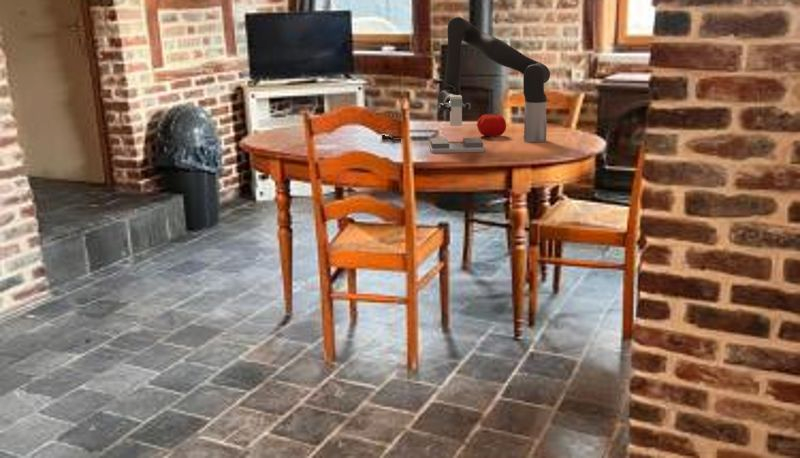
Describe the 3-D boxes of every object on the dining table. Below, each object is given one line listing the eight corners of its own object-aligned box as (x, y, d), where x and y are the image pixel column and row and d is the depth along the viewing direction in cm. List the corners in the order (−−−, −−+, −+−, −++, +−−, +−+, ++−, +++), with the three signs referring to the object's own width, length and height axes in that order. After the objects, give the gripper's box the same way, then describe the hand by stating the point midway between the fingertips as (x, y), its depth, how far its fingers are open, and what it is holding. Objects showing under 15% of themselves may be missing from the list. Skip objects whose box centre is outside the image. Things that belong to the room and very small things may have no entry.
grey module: (460, 123, 328) (460, 95, 324) (462, 125, 323) (462, 96, 319) (449, 124, 328) (449, 95, 324) (450, 126, 322) (451, 96, 319)
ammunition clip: (405, 138, 356) (404, 112, 353) (405, 139, 354) (404, 112, 351) (381, 138, 356) (381, 112, 353) (381, 139, 355) (380, 113, 351)
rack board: (479, 144, 336) (479, 136, 335) (484, 151, 320) (484, 143, 319) (429, 146, 335) (428, 138, 334) (431, 152, 320) (431, 144, 319)
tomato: (505, 134, 362) (505, 111, 359) (506, 138, 351) (506, 115, 348) (476, 134, 364) (477, 111, 361) (476, 138, 352) (476, 115, 349)
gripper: (436, 95, 336) (439, 100, 319) (469, 94, 336) (474, 99, 320) (436, 112, 338) (439, 118, 321) (469, 111, 338) (473, 117, 322)
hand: (456, 108), depth 321 cm, fingers closed on grey module, 4 cm apart
